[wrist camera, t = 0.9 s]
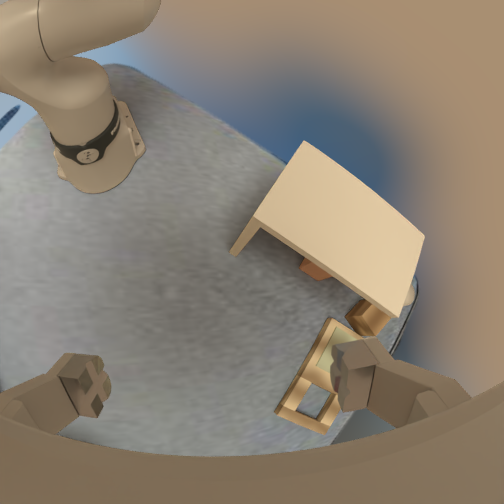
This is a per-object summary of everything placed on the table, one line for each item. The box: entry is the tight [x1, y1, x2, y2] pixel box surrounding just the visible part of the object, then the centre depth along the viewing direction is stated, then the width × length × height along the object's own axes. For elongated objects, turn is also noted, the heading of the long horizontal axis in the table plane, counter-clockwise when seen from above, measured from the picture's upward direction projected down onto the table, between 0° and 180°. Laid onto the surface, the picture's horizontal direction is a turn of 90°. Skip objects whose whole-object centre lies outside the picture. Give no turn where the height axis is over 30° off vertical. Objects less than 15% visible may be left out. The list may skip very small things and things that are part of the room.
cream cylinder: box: [403, 284, 414, 306], centre depth 51 cm, size 4×4×9 cm
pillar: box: [299, 258, 333, 281], centre depth 48 cm, size 4×4×13 cm
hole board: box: [274, 318, 364, 435], centre depth 48 cm, size 20×11×2 cm, turn 149°
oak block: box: [345, 300, 391, 336], centre depth 51 cm, size 5×5×6 cm
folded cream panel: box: [229, 141, 425, 318], centre depth 45 cm, size 14×24×18 cm, turn 59°
